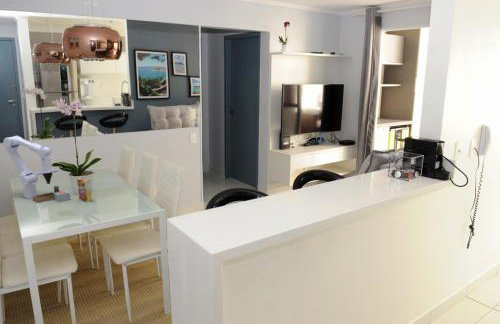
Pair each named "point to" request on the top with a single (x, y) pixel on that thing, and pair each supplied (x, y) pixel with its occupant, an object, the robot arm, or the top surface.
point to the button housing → (62, 196)
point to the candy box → (84, 189)
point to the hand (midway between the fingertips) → (48, 183)
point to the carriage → (55, 190)
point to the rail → (43, 197)
